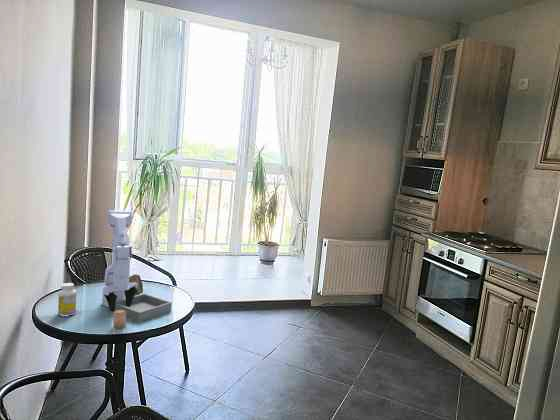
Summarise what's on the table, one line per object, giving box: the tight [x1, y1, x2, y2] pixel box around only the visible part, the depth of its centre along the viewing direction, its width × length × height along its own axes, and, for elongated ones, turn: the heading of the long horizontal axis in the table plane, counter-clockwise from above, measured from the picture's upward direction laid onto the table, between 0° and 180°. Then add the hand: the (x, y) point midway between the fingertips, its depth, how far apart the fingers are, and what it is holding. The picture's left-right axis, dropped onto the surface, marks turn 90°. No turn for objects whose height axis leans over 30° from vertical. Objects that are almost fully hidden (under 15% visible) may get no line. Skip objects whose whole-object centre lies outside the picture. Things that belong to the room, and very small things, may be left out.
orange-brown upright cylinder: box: [112, 310, 127, 330], centre depth 166 cm, size 5×5×6 cm
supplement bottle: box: [57, 282, 77, 316], centre depth 174 cm, size 7×7×13 cm
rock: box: [124, 274, 144, 295], centre depth 208 cm, size 11×9×10 cm
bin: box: [115, 293, 173, 323], centre depth 184 cm, size 18×18×4 cm
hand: (120, 308), depth 165 cm, fingers open, 7 cm apart
